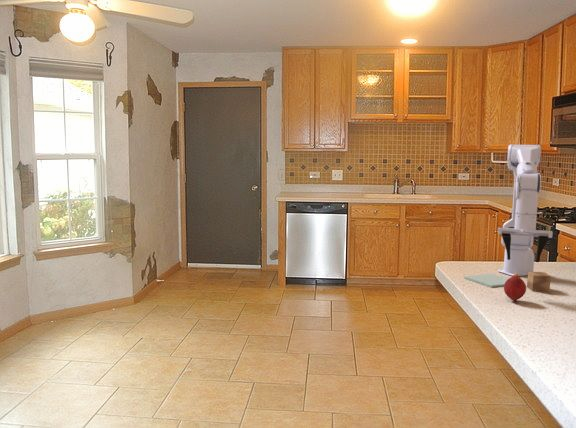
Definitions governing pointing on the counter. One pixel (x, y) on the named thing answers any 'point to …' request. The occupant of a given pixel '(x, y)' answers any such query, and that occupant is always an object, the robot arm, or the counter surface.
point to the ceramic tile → (488, 280)
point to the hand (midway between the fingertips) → (522, 260)
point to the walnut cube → (538, 281)
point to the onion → (515, 287)
